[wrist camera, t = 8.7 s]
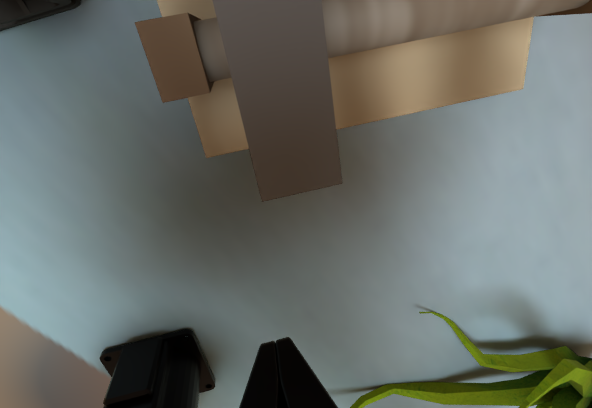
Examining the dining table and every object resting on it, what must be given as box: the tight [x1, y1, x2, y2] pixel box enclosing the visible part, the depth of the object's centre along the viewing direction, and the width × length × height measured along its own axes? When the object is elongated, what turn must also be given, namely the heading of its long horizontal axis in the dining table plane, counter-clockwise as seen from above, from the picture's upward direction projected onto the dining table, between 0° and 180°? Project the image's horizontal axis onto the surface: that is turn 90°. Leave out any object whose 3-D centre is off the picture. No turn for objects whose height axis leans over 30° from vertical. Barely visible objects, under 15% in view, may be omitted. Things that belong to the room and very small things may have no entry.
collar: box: [212, 0, 342, 202], centre depth 12 cm, size 3×10×5 cm, turn 10°
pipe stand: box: [135, 0, 592, 158], centre depth 14 cm, size 18×10×6 cm, turn 100°
